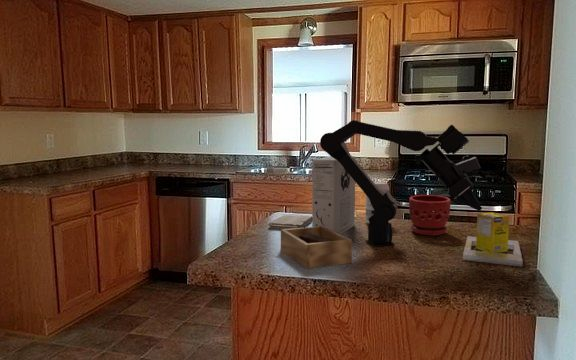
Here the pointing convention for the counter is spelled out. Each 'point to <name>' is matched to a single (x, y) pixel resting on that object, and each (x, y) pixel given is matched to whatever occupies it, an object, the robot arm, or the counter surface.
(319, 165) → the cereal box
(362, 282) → the counter surface
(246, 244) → the counter surface
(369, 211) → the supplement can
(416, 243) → the counter surface
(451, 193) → the robot arm
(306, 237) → the brick
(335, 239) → the oak box
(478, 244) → the supplement box
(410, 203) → the plant pot
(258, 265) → the counter surface
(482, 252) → the plate
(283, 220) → the washcloth
